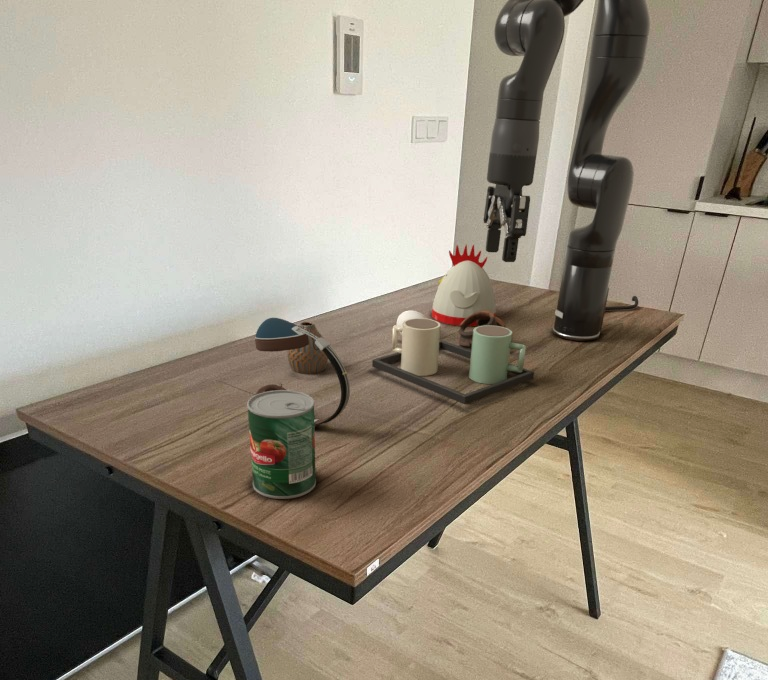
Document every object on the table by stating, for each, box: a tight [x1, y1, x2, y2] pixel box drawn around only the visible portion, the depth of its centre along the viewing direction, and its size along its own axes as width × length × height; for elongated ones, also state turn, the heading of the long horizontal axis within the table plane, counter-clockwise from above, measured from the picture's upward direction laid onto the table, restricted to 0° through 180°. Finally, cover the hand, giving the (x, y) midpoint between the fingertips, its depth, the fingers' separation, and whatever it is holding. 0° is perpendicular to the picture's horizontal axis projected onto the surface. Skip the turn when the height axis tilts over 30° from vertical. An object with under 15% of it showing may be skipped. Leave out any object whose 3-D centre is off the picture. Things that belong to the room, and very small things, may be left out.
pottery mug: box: [457, 311, 508, 348], centre depth 135 cm, size 12×10×8 cm
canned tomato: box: [246, 389, 317, 500], centre depth 86 cm, size 8×8×11 cm
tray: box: [371, 339, 535, 405], centre depth 121 cm, size 18×22×2 cm
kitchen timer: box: [431, 243, 497, 327], centre depth 151 cm, size 14×14×15 cm
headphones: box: [218, 317, 351, 427], centre depth 101 cm, size 6×15×22 cm
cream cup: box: [391, 318, 442, 377], centre depth 121 cm, size 9×6×8 cm
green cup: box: [468, 325, 527, 385], centre depth 117 cm, size 9×6×8 cm
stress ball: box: [396, 309, 428, 336], centre depth 139 cm, size 8×8×7 cm
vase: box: [286, 321, 329, 375], centre depth 120 cm, size 7×7×9 cm
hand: (499, 256), depth 122 cm, fingers open, 8 cm apart
